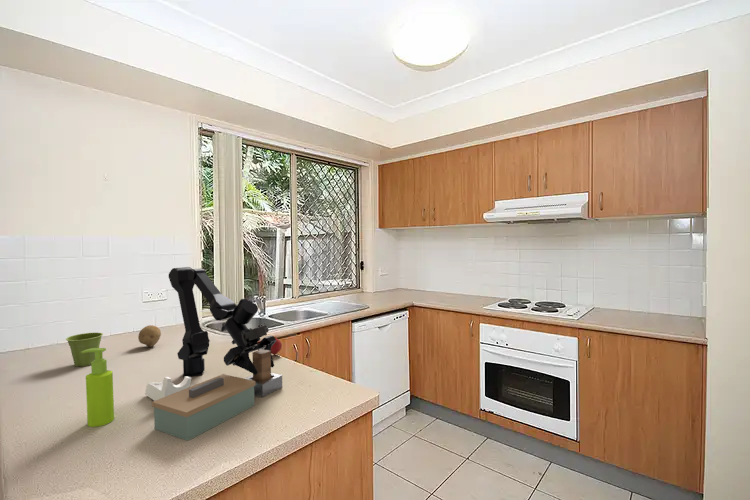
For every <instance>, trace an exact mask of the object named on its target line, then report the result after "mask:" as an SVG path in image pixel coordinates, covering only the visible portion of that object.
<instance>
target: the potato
mask: <svg viewBox="0 0 750 500" xmlns="http://www.w3.org/2000/svg"><path fill="white" fill-rule="evenodd" d="M161 331H162V330H161V329H160V328H159V327H158V326H156V325H150V324H149V325H147V326H145V327H143V328H141V330H139V333H138V335H137V337H138V342H139V344H142V345H145V346H147V347H149V348H151V347H154V346H156V345H157V343H158V342H159V340H160V339H161V336H162V332H161Z"/></svg>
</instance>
